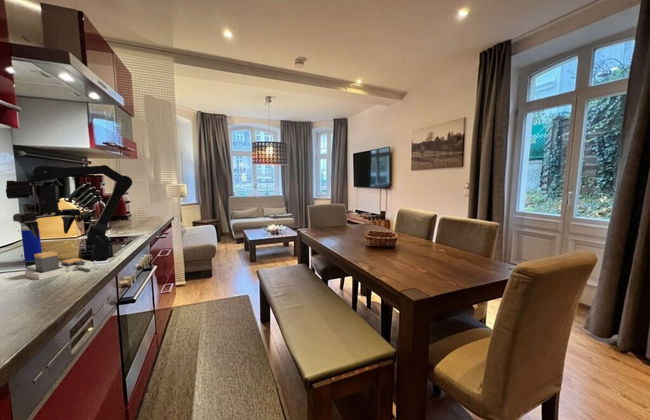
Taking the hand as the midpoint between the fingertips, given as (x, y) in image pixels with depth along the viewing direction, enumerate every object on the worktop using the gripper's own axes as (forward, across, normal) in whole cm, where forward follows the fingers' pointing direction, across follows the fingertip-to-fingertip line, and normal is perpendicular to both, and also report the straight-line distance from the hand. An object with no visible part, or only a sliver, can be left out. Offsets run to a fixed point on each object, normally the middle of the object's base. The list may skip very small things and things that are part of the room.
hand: (51, 235), depth 108 cm
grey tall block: (+12, +8, +10) cm, 18 cm away
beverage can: (+13, 0, -15) cm, 20 cm away
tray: (+12, +2, +1) cm, 13 cm away
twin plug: (+13, 0, +15) cm, 19 cm away
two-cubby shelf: (+12, +4, +11) cm, 17 cm away
